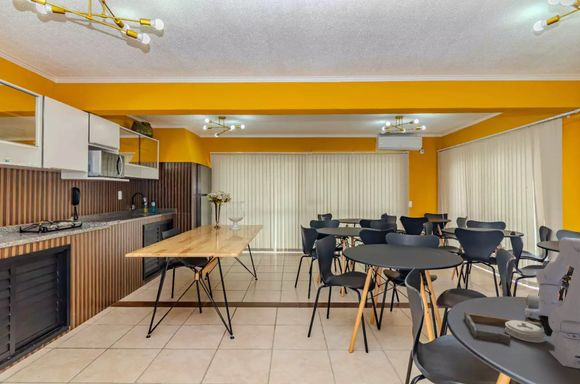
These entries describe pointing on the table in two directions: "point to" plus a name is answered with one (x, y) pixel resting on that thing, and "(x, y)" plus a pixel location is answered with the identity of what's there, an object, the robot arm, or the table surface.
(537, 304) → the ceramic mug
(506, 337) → the u-shaped bar frame
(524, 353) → the table surface
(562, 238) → the robot arm
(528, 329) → the lid
